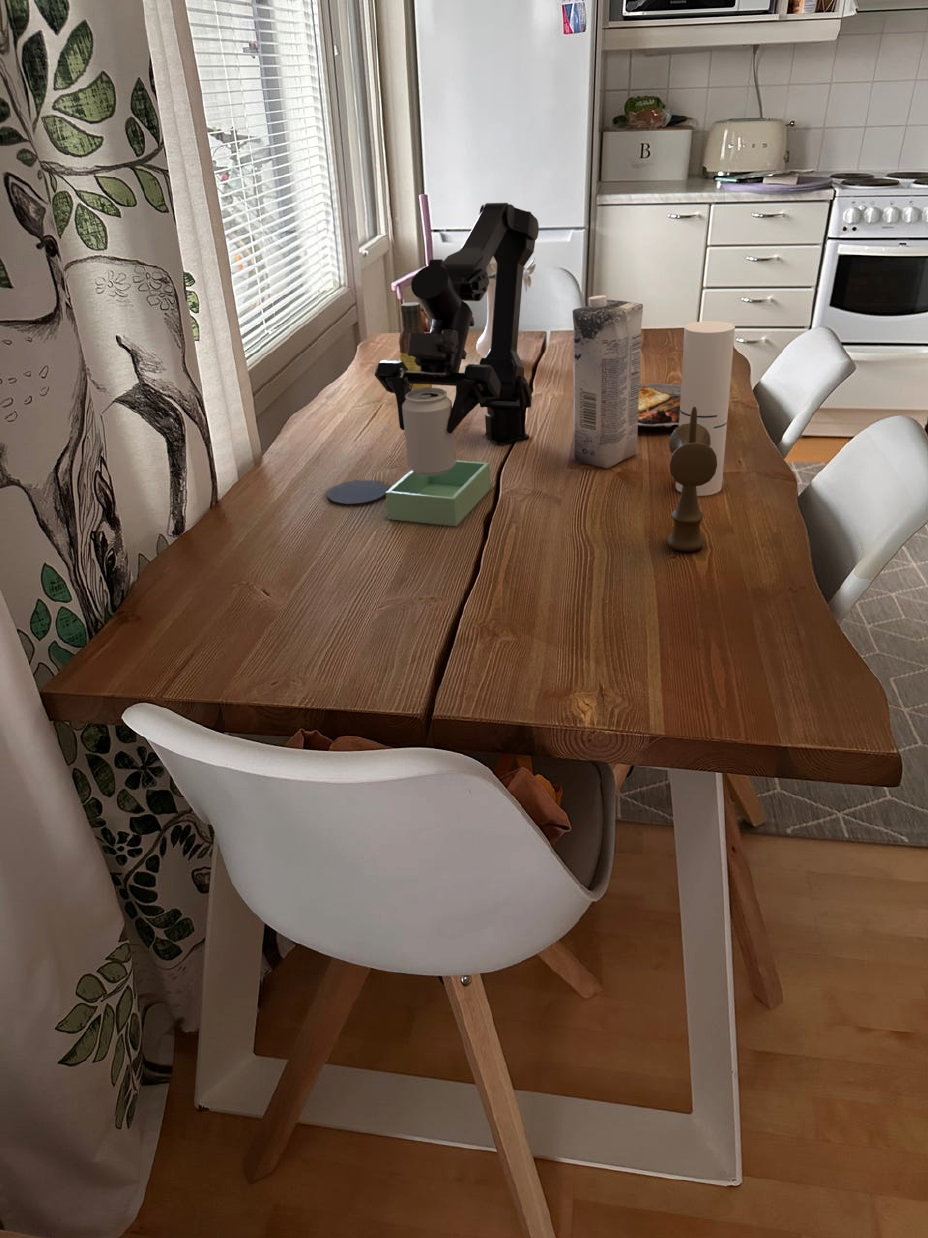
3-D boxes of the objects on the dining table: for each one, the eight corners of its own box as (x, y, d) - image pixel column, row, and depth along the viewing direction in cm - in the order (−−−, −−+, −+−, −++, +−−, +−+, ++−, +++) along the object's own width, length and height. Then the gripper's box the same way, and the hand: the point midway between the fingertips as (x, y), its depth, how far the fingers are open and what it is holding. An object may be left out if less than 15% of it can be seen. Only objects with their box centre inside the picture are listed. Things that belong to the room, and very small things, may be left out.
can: (464, 462, 145) (459, 386, 138) (443, 480, 139) (437, 402, 133) (422, 457, 147) (415, 383, 141) (399, 475, 142) (391, 398, 136)
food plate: (659, 444, 165) (660, 425, 164) (564, 418, 181) (564, 401, 179) (741, 410, 179) (743, 392, 177) (646, 389, 195) (646, 372, 193)
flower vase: (537, 365, 216) (535, 251, 203) (458, 368, 217) (452, 255, 205) (537, 351, 227) (535, 242, 215) (462, 354, 229) (456, 246, 216)
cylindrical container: (670, 480, 150) (678, 323, 138) (713, 476, 151) (725, 319, 138) (682, 497, 144) (692, 334, 132) (727, 493, 145) (742, 330, 132)
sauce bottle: (429, 404, 194) (421, 307, 184) (400, 404, 195) (391, 307, 186) (436, 395, 200) (428, 300, 190) (408, 395, 201) (399, 300, 191)
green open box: (427, 482, 156) (425, 457, 154) (490, 488, 152) (489, 462, 150) (388, 519, 144) (385, 492, 142) (456, 526, 140) (454, 498, 138)
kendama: (664, 561, 126) (672, 418, 116) (662, 531, 134) (669, 395, 124) (710, 562, 125) (721, 417, 115) (705, 532, 133) (715, 394, 123)
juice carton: (643, 454, 162) (650, 293, 148) (608, 472, 155) (611, 306, 142) (601, 444, 167) (604, 288, 154) (566, 461, 161) (565, 300, 147)
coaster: (377, 478, 159) (376, 476, 159) (395, 497, 151) (395, 495, 151) (320, 489, 156) (320, 487, 156) (336, 510, 148) (336, 508, 148)
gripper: (372, 306, 138) (347, 401, 135) (490, 308, 131) (466, 409, 128) (400, 345, 148) (377, 435, 145) (510, 349, 141) (489, 443, 138)
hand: (425, 430), depth 139 cm, fingers closed on can, 7 cm apart
